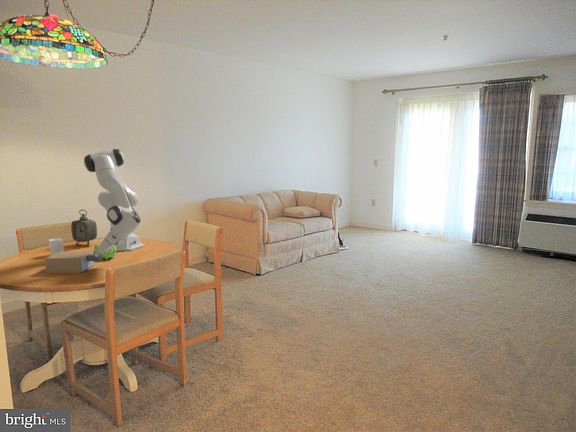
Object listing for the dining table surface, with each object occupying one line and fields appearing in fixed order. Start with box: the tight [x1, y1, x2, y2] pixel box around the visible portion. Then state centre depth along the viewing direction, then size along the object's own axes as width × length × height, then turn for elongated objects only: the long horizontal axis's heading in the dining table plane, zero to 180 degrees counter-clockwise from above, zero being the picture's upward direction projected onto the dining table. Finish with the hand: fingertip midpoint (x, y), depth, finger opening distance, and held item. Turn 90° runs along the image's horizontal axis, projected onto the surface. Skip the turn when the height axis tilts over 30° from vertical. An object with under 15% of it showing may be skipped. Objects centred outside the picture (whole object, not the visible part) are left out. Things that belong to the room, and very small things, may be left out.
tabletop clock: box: [70, 209, 98, 247], centre depth 278 cm, size 14×9×25 cm, turn 68°
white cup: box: [48, 237, 65, 256], centre depth 252 cm, size 8×8×10 cm
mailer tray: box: [80, 251, 103, 273], centre depth 223 cm, size 25×14×8 cm, turn 92°
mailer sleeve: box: [44, 251, 92, 274], centre depth 223 cm, size 18×14×8 cm
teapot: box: [93, 243, 118, 261], centre depth 245 cm, size 12×12×10 cm
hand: (99, 254), depth 223 cm, fingers open, 8 cm apart
